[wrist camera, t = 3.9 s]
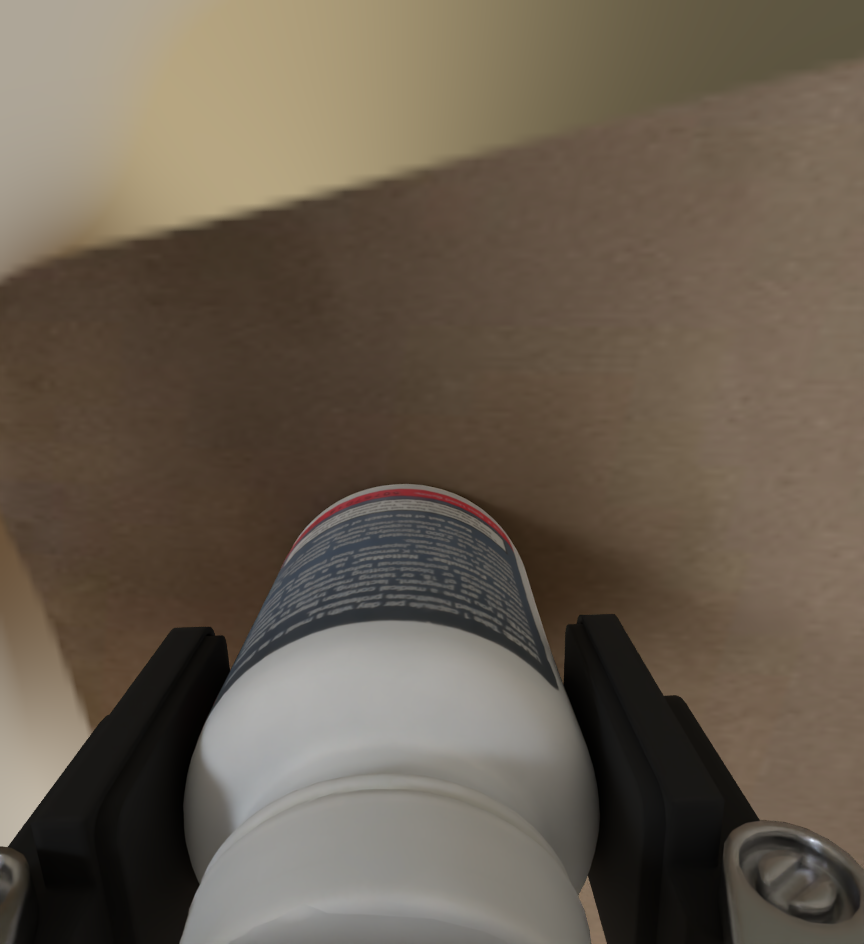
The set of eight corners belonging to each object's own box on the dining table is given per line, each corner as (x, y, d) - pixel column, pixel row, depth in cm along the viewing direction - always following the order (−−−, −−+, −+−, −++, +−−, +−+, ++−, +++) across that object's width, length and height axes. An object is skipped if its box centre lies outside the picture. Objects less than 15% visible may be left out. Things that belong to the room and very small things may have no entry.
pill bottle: (239, 534, 14) (-73, 953, 5) (473, 440, 13) (566, 726, 5) (345, 734, 15) (240, 1331, 6) (561, 656, 14) (759, 1188, 6)
